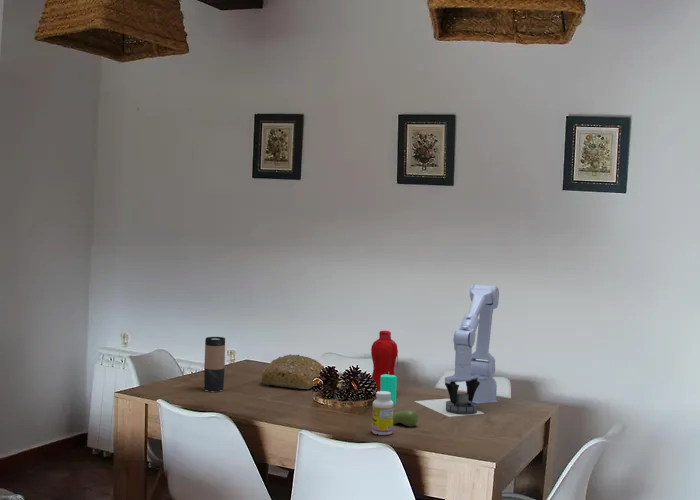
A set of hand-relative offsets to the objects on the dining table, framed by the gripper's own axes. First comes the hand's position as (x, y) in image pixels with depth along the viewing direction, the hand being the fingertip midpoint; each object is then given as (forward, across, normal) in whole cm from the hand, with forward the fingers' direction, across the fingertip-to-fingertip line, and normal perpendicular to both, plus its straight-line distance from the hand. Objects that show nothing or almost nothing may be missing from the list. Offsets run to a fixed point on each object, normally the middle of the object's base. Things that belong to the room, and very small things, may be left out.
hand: (461, 401), depth 282 cm
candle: (+4, +18, -20) cm, 27 cm away
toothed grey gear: (+3, 0, 0) cm, 3 cm away
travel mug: (+4, +66, -66) cm, 94 cm away
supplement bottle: (+4, +42, +11) cm, 43 cm away
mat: (+4, +1, -6) cm, 7 cm away
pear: (+4, +30, +6) cm, 31 cm away
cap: (+2, 0, 0) cm, 2 cm away
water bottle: (+4, +11, -32) cm, 34 cm away
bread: (+4, +33, -64) cm, 72 cm away
